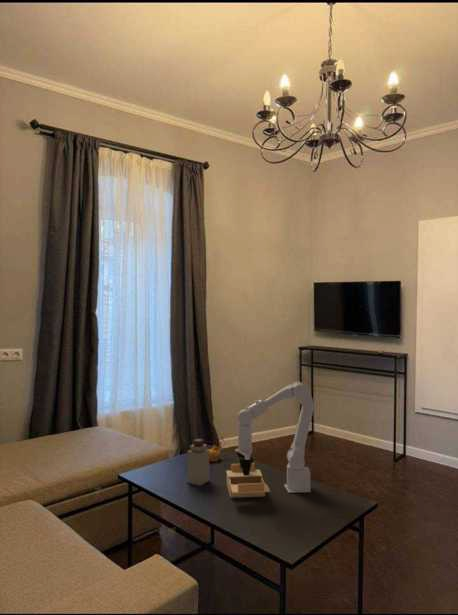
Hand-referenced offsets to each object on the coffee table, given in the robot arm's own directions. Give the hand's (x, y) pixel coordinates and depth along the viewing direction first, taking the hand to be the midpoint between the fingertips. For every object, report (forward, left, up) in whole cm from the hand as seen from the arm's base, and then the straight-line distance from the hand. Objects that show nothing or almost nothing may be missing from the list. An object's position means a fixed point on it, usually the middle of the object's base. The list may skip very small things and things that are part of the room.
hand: (244, 471), depth 183 cm
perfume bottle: (+19, -10, -7) cm, 23 cm away
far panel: (0, -2, -2) cm, 3 cm away
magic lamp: (+12, -38, -7) cm, 40 cm away
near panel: (0, +14, -2) cm, 14 cm away
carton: (0, +1, -7) cm, 7 cm away
